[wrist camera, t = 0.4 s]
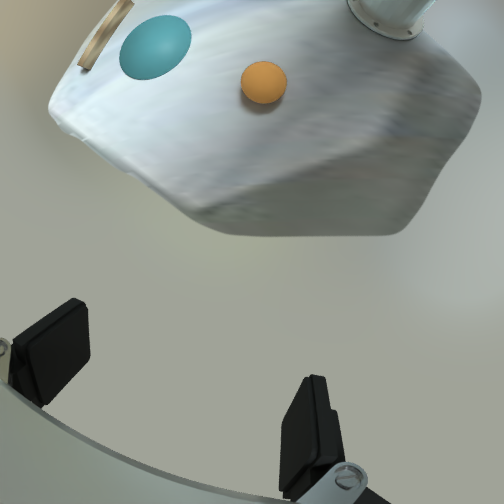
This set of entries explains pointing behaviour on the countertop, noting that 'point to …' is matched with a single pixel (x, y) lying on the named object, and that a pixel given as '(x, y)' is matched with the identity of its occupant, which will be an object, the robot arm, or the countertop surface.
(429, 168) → the countertop surface
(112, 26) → the stopper strip
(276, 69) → the ball
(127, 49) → the disc
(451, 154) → the countertop surface
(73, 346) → the robot arm
